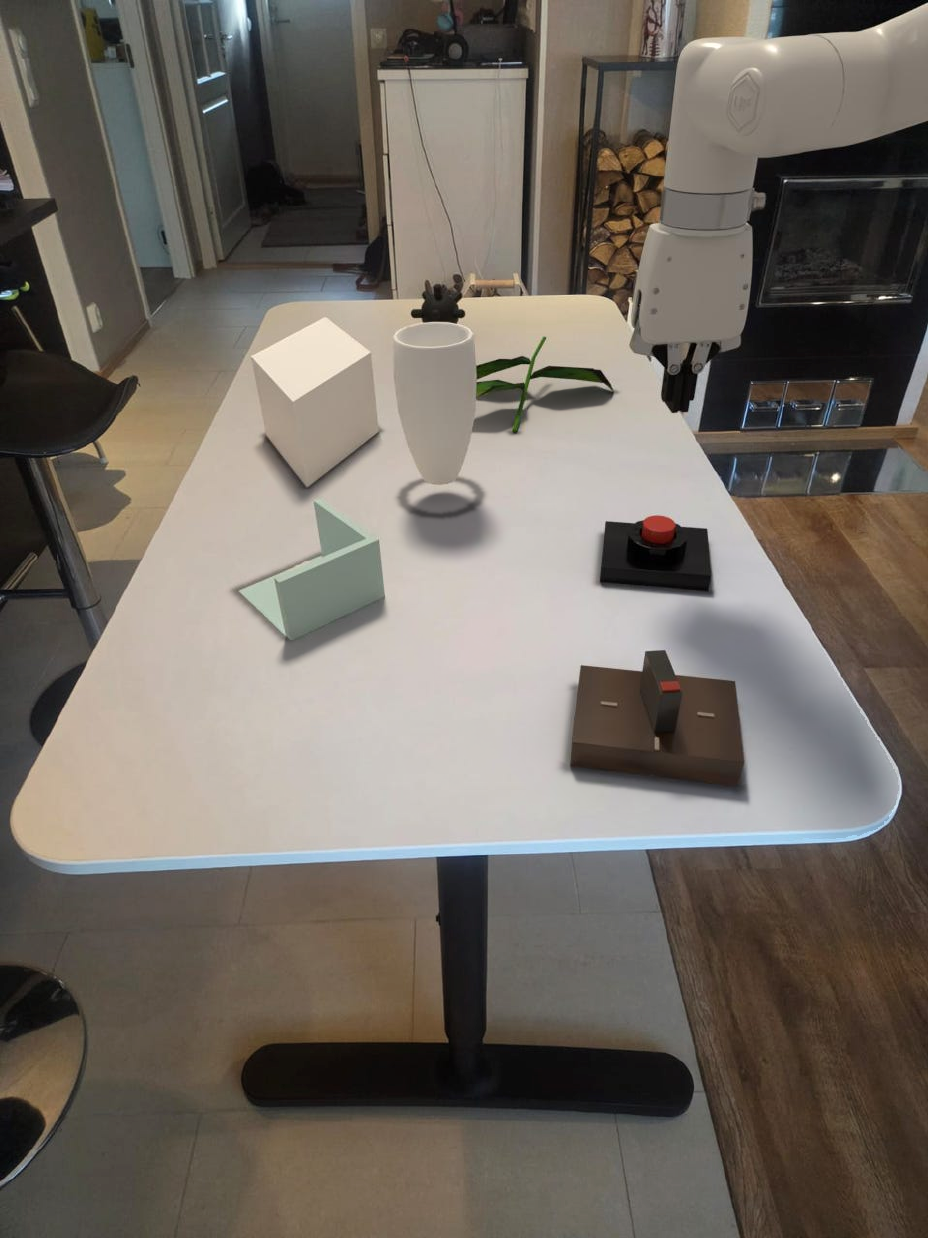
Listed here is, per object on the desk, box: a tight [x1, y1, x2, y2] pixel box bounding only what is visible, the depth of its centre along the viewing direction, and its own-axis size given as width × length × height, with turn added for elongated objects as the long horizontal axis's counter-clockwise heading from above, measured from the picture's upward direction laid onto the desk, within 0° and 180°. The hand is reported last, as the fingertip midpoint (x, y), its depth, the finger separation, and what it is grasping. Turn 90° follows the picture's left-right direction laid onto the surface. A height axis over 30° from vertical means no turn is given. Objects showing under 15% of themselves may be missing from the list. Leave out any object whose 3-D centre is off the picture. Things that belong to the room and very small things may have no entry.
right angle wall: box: [238, 497, 386, 642], centre depth 88 cm, size 12×12×8 cm
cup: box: [391, 322, 478, 486], centre depth 101 cm, size 10×10×22 cm
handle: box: [640, 649, 682, 733], centre depth 69 cm, size 6×2×5 cm, turn 3°
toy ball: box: [410, 283, 466, 324], centre depth 156 cm, size 11×11×12 cm
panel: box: [569, 664, 745, 787], centre depth 71 cm, size 14×10×3 cm
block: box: [250, 316, 380, 488], centre depth 120 cm, size 18×35×12 cm, turn 1°
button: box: [641, 514, 676, 544], centre depth 91 cm, size 4×4×2 cm
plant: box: [476, 336, 615, 433], centre depth 130 cm, size 19×27×8 cm
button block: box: [599, 519, 713, 593], centre depth 92 cm, size 12×10×4 cm
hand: (675, 407), depth 82 cm, fingers closed
